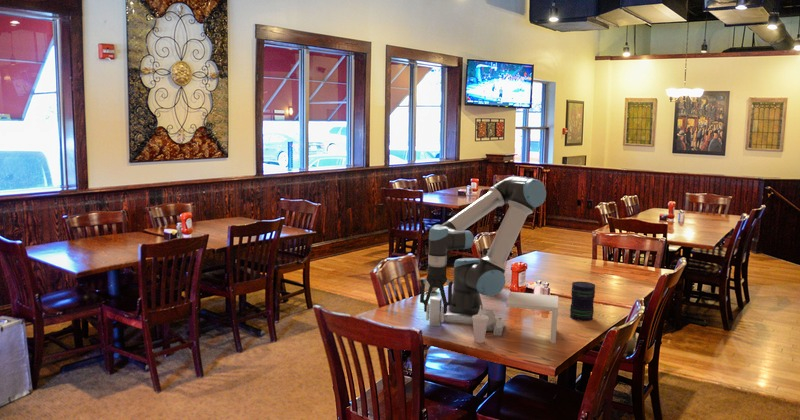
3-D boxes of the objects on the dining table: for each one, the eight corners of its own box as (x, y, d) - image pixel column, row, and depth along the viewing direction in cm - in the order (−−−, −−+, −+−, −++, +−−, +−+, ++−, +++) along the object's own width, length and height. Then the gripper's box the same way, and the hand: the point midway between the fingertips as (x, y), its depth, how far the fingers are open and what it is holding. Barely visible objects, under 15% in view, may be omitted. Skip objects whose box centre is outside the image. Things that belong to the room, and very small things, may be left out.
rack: (504, 337, 267) (506, 303, 265) (508, 324, 284) (509, 291, 282) (555, 343, 263) (557, 307, 261) (556, 329, 280) (558, 295, 278)
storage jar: (566, 314, 302) (568, 281, 299) (588, 314, 302) (590, 281, 300) (573, 321, 292) (576, 287, 290) (596, 321, 292) (598, 287, 290)
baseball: (441, 291, 333) (442, 278, 332) (431, 294, 328) (432, 280, 327) (431, 289, 338) (432, 275, 337) (421, 291, 333) (421, 278, 332)
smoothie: (486, 338, 266) (487, 303, 264) (488, 344, 259) (490, 308, 257) (469, 338, 265) (471, 303, 263) (472, 343, 259) (473, 308, 257)
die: (488, 336, 270) (502, 315, 272) (469, 323, 272) (483, 302, 273) (487, 337, 279) (501, 317, 280) (469, 324, 280) (482, 304, 282)
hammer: (427, 328, 276) (428, 301, 275) (434, 318, 290) (435, 293, 288) (501, 335, 270) (502, 308, 268) (504, 325, 283) (505, 299, 282)
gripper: (413, 265, 276) (411, 320, 279) (458, 268, 272) (456, 325, 275) (416, 261, 283) (415, 315, 287) (461, 265, 279) (458, 320, 283)
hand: (435, 320), depth 281 cm, fingers open, 5 cm apart
